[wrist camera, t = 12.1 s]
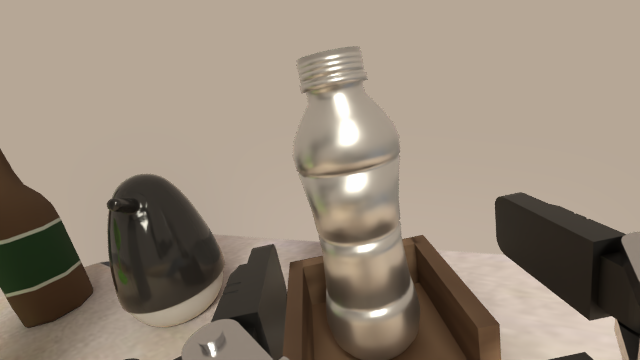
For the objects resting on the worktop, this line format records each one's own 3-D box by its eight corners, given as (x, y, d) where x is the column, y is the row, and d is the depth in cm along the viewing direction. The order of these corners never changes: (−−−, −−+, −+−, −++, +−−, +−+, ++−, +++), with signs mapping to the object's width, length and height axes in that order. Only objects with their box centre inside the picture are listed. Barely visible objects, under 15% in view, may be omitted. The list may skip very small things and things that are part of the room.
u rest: (300, 433, 18) (280, 369, 17) (301, 307, 29) (290, 262, 28) (502, 392, 18) (499, 324, 17) (428, 281, 29) (423, 235, 27)
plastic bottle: (323, 323, 25) (264, 72, 19) (396, 297, 26) (360, 54, 21) (350, 393, 19) (275, 54, 13) (444, 353, 20) (411, 31, 15)
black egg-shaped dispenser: (113, 360, 27) (37, 206, 23) (157, 291, 37) (109, 175, 33) (225, 330, 28) (171, 176, 24) (239, 270, 38) (202, 154, 34)
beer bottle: (91, 305, 37) (-4, 109, 31) (9, 340, 33) (-120, 127, 27) (98, 279, 44) (20, 113, 37) (29, 306, 40) (-70, 128, 34)
